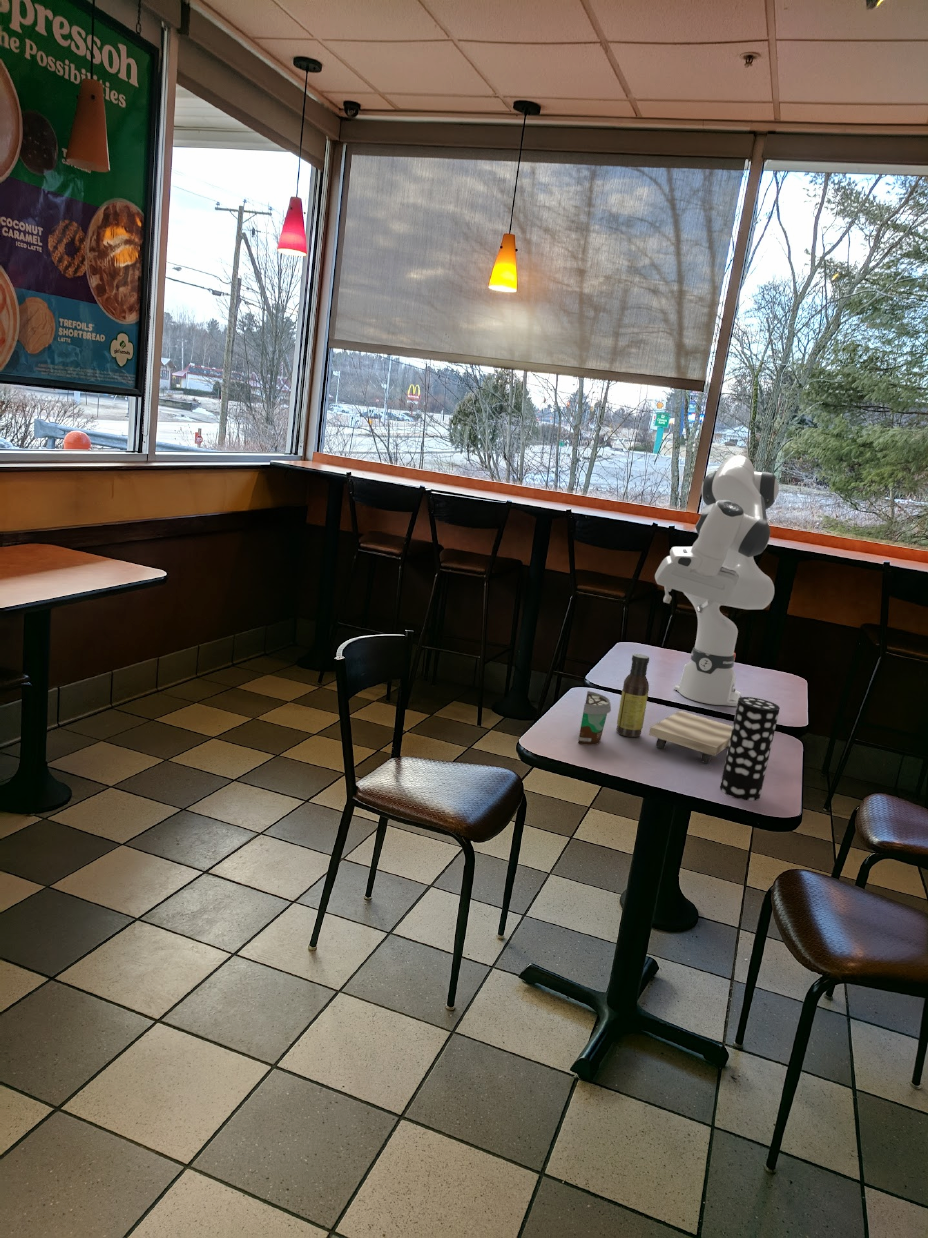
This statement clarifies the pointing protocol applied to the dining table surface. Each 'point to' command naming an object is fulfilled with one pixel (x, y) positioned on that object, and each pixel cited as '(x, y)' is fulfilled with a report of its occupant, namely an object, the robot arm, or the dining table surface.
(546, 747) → the dining table surface
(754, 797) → the white-spotted black cylinder
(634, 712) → the sauce bottle
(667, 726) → the dolly
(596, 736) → the food container
